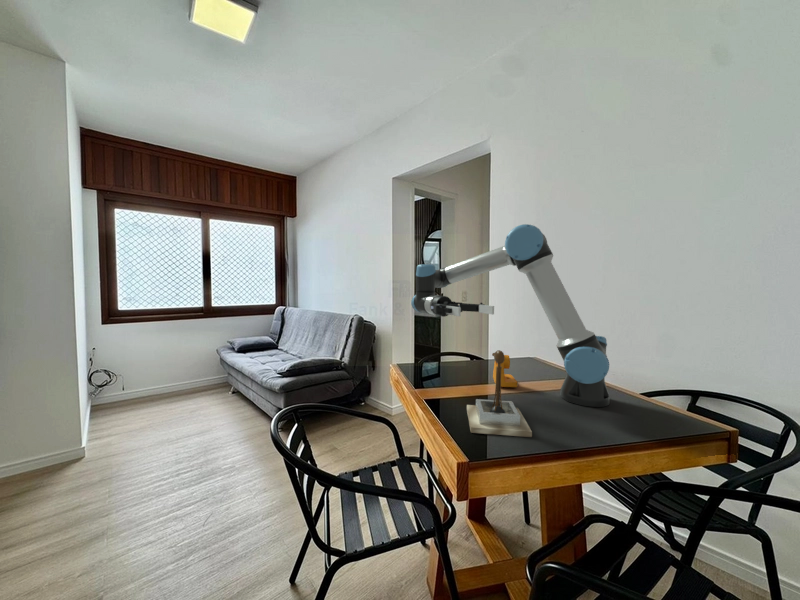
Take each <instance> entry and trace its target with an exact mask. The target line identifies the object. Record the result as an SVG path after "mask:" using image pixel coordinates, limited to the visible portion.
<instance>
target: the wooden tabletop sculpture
mask: <svg viewBox="0 0 800 600" xmlns="http://www.w3.org/2000/svg"><path fill="white" fill-rule="evenodd" d="M504 355H505V354H504V351H502V350H496V351H495V352H492V357H493V360H494V362H495V361H496V363H498V366H496V384H495V391H494V399H493V400H494V403H493V407H492V408H491V410H490V412H492V413H505V411H504V409H503V408H502V401H503V400H502V387H501V368H502V367H501V364H502V363H503V362H504V359H505V357H504ZM495 400H496V404H495ZM500 403H501V406H500ZM494 404H495V406H494Z"/></svg>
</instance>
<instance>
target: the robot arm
mask: <svg viewBox="0 0 800 600" xmlns="http://www.w3.org/2000/svg"><path fill="white" fill-rule="evenodd" d="M553 257H554V253H553V252H552V250H551V248H550V246H549V244H548V241H547V237H546V236H545V234H544V233H543V232H542V231H541V229H540V228H538V227H537V226H535V225H534V224H533V225H532V224H526V223H525V224H520V225H517V226H515V227H513V228H512V229H510V231H509V232H508V234H507V235H506V237H505V241H504V245H502V246H500V247H497V248H494V249H491V250H489V251H486V252H483V253H480V254H477V255H475V256H472V257H470V258H467V259H464V260H462V261H459V262H455V263H453V264H450V265H447V266H445V267H442V268H439V269H436V265H434V264H430V263H429V264H428V263H427V264H425V263H423V264H422V263H421V264H418V265H417V266H416V272H415V277H416V278H415V281H416V282H415V289H416V290H415V291H416V292H415V294H414V296H413V297H412V298H411V306H412V307H411V308H412V309H413V310H414V311H416V312H418V313H421V314H428V315H433V316H432V317H436V316H438V317H443V318H444V317H448V316H449V315H450V316H454V317H461V314H462V313H463V312H471V313H472V312H473V313H474V312H475V313H479V314H487V315H495V306H494V305H488V304H484V303H483V302H480V303H465V302H464V303H463V302H459V301H458V302H456V301H453V300H451V298H450V297H448V296H446V295H438V294H436V288H437V289H442V288H446V287H448V286H449V285H451V284H454V283H459V282H461V281H464V280H467V279H470V278H473V277H476V276H479V275H482V274H486V273H488V272H491V271H494V270H497V269H500V268H503V267H507V266H509V265H510V266H513V267H515V266H516V268H517V270H518V272H520V273H523V274H525V275H526V278H527V279H528V281H529V283H530V285H531V287H532V289H533V291H534V293H535V295H536V298H537V300H538V301H539V303H540V305H541V307H542V309H543V311H544V313H545V315H546V317H547V319H548V322H549V323H550V325H551V327H552V329H553V331H554V333H555V335H556V337H557V339H558V341H557V344H556V348H557V350H558V353H559V355H560V357H561V358H562V360H563V366H564V369H565V372H566V376H565V378H564V380H563V382H562V384H561V387H560V394H559V396H560V397H561V398H562V399H563V400H565V401H566V402H569V403H572V404H575V405H578V406H584V407H591V408H592V407H593V408H603V407H607V406H609V405H610V398H611V397H610V394H609V391H608V387H607V383H606V381H605V378H606V376H607V375H608V373H609V371H610V361H609V358H608V356H607V347H608V343H607V338H606V337H605V336H602V335H596V334H595V332H594V331H592V330H588V329H586V326H585V325H584V322H583V320H582V318H581V317H580V314H579V312H578V311H577V308H576V307H575V305H574V303H573V302H572V300H571V298H570V295H569V293H568V292H567V290H566V288H565V286H564V284H563V282H562V280H561V278H560V276H559V275H558V273H557V270H556V269H555V267H554V265H553V262H552V260H553Z"/></svg>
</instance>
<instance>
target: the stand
mask: <svg viewBox="0 0 800 600" xmlns="http://www.w3.org/2000/svg"><path fill="white" fill-rule="evenodd" d="M515 408H516V409H517V411H518V413H519V415H520V427H517V426H503V425H489V424H479V420H478V416H477V412H476V404H466V413H467V414H466V415H467V418H468V425H469V430H470V433H471V434H472V433H473V434H484V435H496V436H497V435H501V436H510V437H511V436H514V437H523V438H524V437H525V438H532V437H533V431H532V430H531V427H530V425H529V423H528V422H527V420H526V419H525V417H524V415H523V414H522V412H521V410H520V409H519V407H515ZM483 411H484V410H483ZM484 412H490V411H484ZM505 413H507V414H509V412H505Z"/></svg>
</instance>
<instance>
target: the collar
mask: <svg viewBox="0 0 800 600" xmlns="http://www.w3.org/2000/svg"><path fill="white" fill-rule="evenodd" d="M501 401H502V408H503V409H504V411H505V412H509V414H507V413H492V412H484V411H490V410H491V408H492V407H493V403H494V399H481V398H479V399H478V398H476V399H475V405H476V412H477V416H478V420H479V424H489V425H503V426H517V427H520V415H519V413H518V411H517V409H516V408H517V407H516V406H515V404H514V402H513V401H512V400H501ZM495 404H496V399H495ZM495 404H494V406H495ZM500 406H501V403H500ZM483 410H484V411H483Z"/></svg>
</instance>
